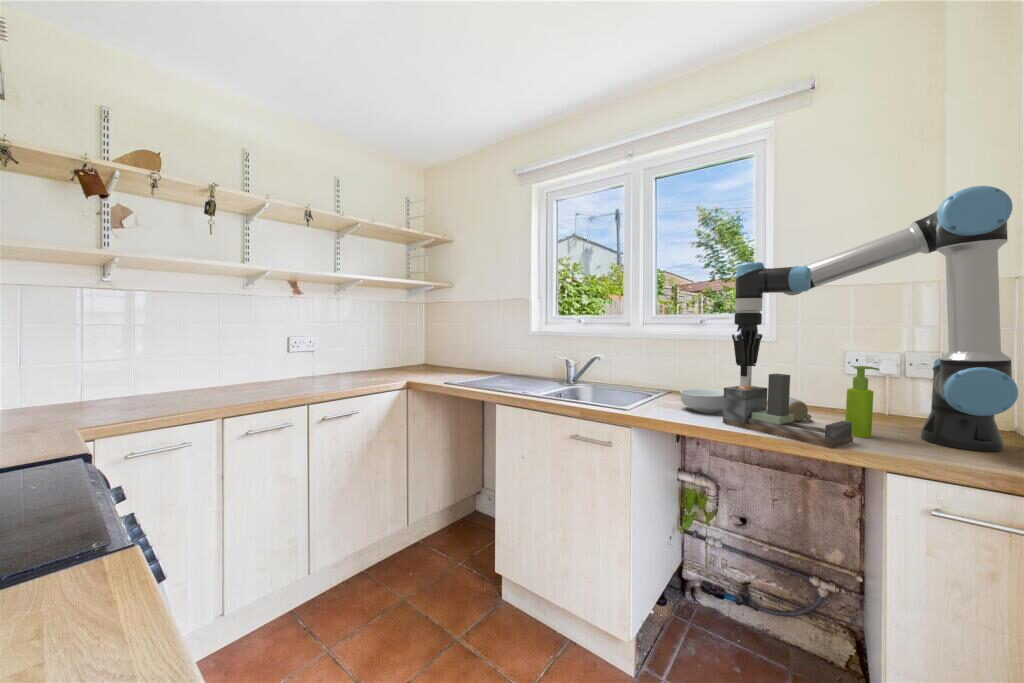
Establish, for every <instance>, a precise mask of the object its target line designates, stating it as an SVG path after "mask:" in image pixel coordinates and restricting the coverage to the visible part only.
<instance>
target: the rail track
mask: <svg viewBox="0 0 1024 683" xmlns="http://www.w3.org/2000/svg"><path fill="white" fill-rule="evenodd" d="M739 386H740V385H735V386H726V387H723V391H724V400H723V409H722V424H723V423H725V424H724V425H728V424H729V425H728V426H732V425H733V426H732V427H736V426H737V427H736V428H741V427H742V428H741V429H745V428H746V430H749V429H751V430H750V431H754V430H755V432H758V431H760V432H759V433H762V432H763V434H767V433H768V435H771V434H772V436H775V435H777V436H776V437H780V436H781V438H784V437H785V438H784V439H788V438H790V440H793V439H794V441H797V440H798V442H802V443H807V444H811V445H814V446H820V447H822V448H823V447H824V448H828V449H835V448H836V447H837V446H838V447H840V445H841V446H843V445H846V444H850V442H851V443H853V441H854V436H851V432H852V422H847V421H846V420H841V421H836V422H833V423H829V424H826V425H825V428H824V427H820V426H815V425H809V424H806V423H805V424H804V423H800V422H796V421H793V422H789V423H784V424H780V425H779V424H774V423H769V422H764V421H759V420H755V419H752V412H757V411H762V410H767V409H768V387H762V386H756V385H755V386H754V385H751V387H753V389H750V390H748V389H741V388H739Z"/></svg>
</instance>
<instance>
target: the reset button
mask: <svg viewBox="0 0 1024 683" xmlns="http://www.w3.org/2000/svg"><path fill="white" fill-rule="evenodd" d="M738 386H739V388H741V389H748V390H750V389H753V387H743V386H740V385H738Z"/></svg>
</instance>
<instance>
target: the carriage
mask: <svg viewBox="0 0 1024 683" xmlns="http://www.w3.org/2000/svg"><path fill="white" fill-rule="evenodd" d="M767 383H768V387H767V410H762V411H757V412H752V419H755V420H759V421H764V422H769V423H774V424H779V425H780V424H784V423H789V422H795V421H794V415H793V414H789V397H790V388H791V374H784V373H769V374H768V382H767Z"/></svg>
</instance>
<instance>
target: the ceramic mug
mask: <svg viewBox="0 0 1024 683" xmlns="http://www.w3.org/2000/svg"><path fill="white" fill-rule="evenodd" d="M808 411H809V410H808V406H807V404H806V403H805V402H803V401H802V400H800V399H797V398H794V397H792V396H789V414H793V415H794V421H793V422H802V421H804V419H805V418H806V419H805V420H808V419H809V420H808V421H810V420H811V419H812V414H809V412H808Z"/></svg>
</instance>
